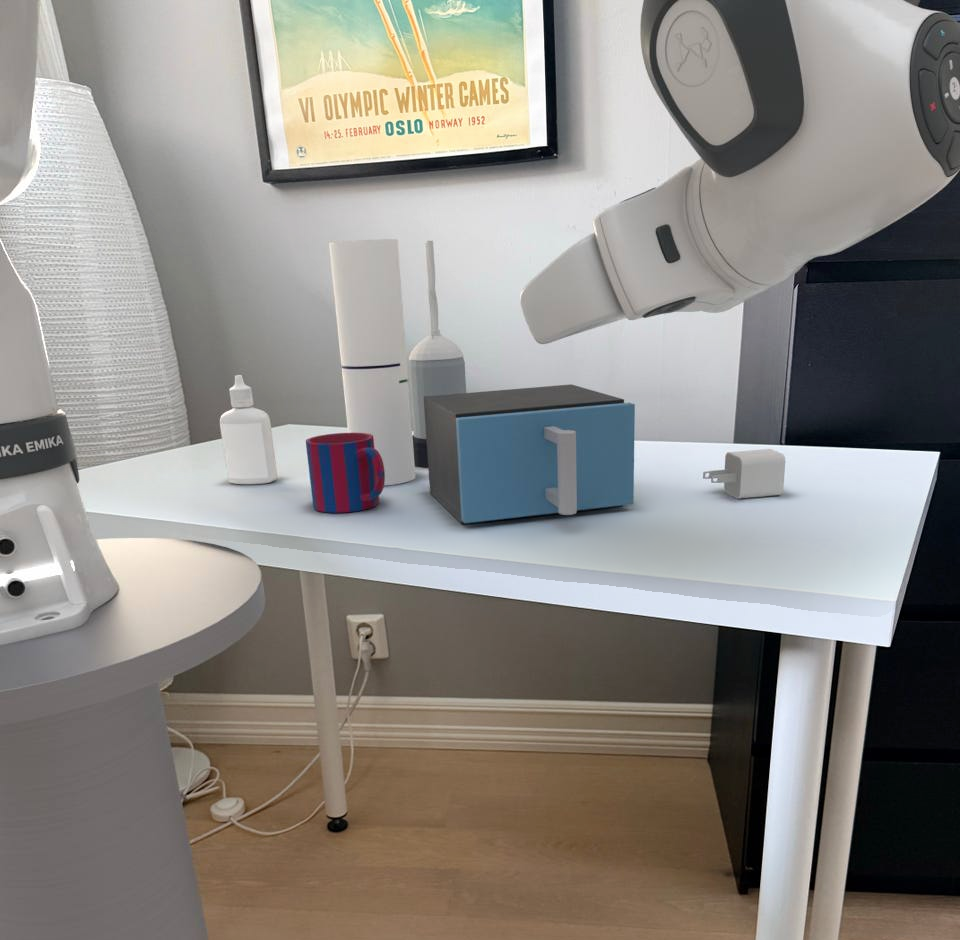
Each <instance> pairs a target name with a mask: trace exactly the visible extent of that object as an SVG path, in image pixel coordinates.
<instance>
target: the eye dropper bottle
mask: <svg viewBox="0 0 960 940" xmlns="http://www.w3.org/2000/svg"><path fill="white" fill-rule="evenodd" d="M228 391H229V398H230V405H231V407H232V409H229V410H227V411H225V412H224V413H222V414H221V416H220V417H219V428H220V436H221V442H222V449H223V455H224V463H225V468H226V469H225V471H226V475H227V476H226V477H227V480H228V482H229V483H231V484H234V485H264V484H265V485H266V484H269V483H272V482H274V481H276V480H277V479H278V467H277V461H276V460H277V459H276V453H275V446H274V445H275V444H274V439H273V430H272V424H271V419H270V416H269V414H268V413H266V412H265V411H264V410H262V409H259V408H255V407H254V398H253V391H252V387H251V386H249V385H246V384H245V381H244V378H243V376H242V374H237V375H234V385H232V387H230V388H229V390H228Z"/></svg>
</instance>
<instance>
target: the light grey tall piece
mask: <svg viewBox="0 0 960 940" xmlns="http://www.w3.org/2000/svg"><path fill="white" fill-rule="evenodd" d="M434 250H435V249H434V241H433V240H426V242H425V255H426V266H427V267H426V269H427V281H428V282H427V293H428V304H429V316H430V317H429V318H430V329H429V334H428V335H427V336H426V337H425V338H424V339H422V340H420V341H419V342H418V343H417V344H416V345H415V346H414V347H413V349H411V352H410V355H409V357H408V365H407V368H408V381H409V394H410V407H411V421H412V437H413V450H414V463H415V467H418V468H428V455H427V441H426V426H425V412H424V397H425V396H437V395H449V394H461V393H467V379H466V363H465V358H464V353H463V352H462V350H461V348H460V347H459V346H458V345H457V344H456V343H455V342H454V341H452V340H451V339H449V338H447V337H445V336H444V335H442V333H441V331H440V329H439V305H438V298H437V291H436V266H435V265H436V264H435V251H434Z"/></svg>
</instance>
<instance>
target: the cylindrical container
mask: <svg viewBox="0 0 960 940" xmlns="http://www.w3.org/2000/svg"><path fill="white" fill-rule="evenodd" d="M328 248H329V257H330V267H331V277H332V288H333V297H334V307H335V316H336V326H337V327H336V328H337V337H338V347H339V355H340V365H341V366H342V367H341V378H342V386H343V394H344V395H343V396H344V405H345V406H344V407H345V417H346V424H347V425H346V426H347V433H367V434H371V435H373V439H374V449H376V450H377V451H378V452H379V454H380V456H381V458H382V461H383V465H384V472H385V482H384V486H394V485H400V484H405V483H408V482H411V481H414V480H415V479H416V466H415V463H414V450H413V437H412V436H413V422H412V409H411V396H410V383H409V370H408V361H407V360H408V359H407V346H406V345H407V344H406V334H405V332H406V331H405V321H404V320H405V319H404V307H403V294H402V293H403V292H402V282H401V281H402V280H401V279H402V278H401V268H400V267H401V266H400V255H399V254H400V253H399V241H398V239H395V238H393V239H392V238H391V239H390V238H388V239H385V238H383V239H361V240H359V239H358V240H348V241H347V240H343V241H333V242H329V243H328Z"/></svg>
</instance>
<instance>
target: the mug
mask: <svg viewBox="0 0 960 940" xmlns="http://www.w3.org/2000/svg"><path fill="white" fill-rule="evenodd" d="M305 448H306V456H307V465H308V466H307V467H308V473H309V482H310V491H311V499H312V507H313V509H314V510H315V511H318V512H321V513H329V514H330V513H331V514H332V513H333V514H339V513H340V514H341V513H342V514H343V513H353V512H359V511H364V510H368V509H371V508H374V507H376V506H377V505H379V504H380V495H381V494H382V492H383V490H384V487H385V485H384V482H385V472H384V465H383V461H382V458H381V456H380V454H379V452H378V451H377V450H376V449H374V439H373V435H371V434H367V433H348V432H336V433H327V434H321V435H315V436H312V437H309V438H307V439H306V440H305Z"/></svg>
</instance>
